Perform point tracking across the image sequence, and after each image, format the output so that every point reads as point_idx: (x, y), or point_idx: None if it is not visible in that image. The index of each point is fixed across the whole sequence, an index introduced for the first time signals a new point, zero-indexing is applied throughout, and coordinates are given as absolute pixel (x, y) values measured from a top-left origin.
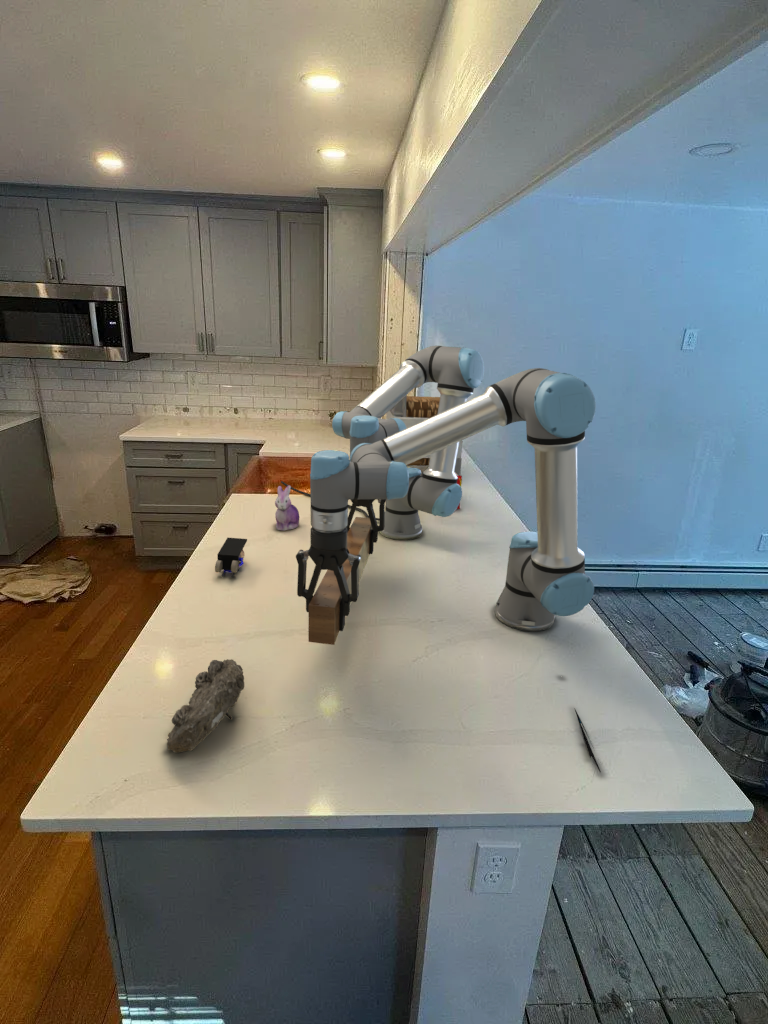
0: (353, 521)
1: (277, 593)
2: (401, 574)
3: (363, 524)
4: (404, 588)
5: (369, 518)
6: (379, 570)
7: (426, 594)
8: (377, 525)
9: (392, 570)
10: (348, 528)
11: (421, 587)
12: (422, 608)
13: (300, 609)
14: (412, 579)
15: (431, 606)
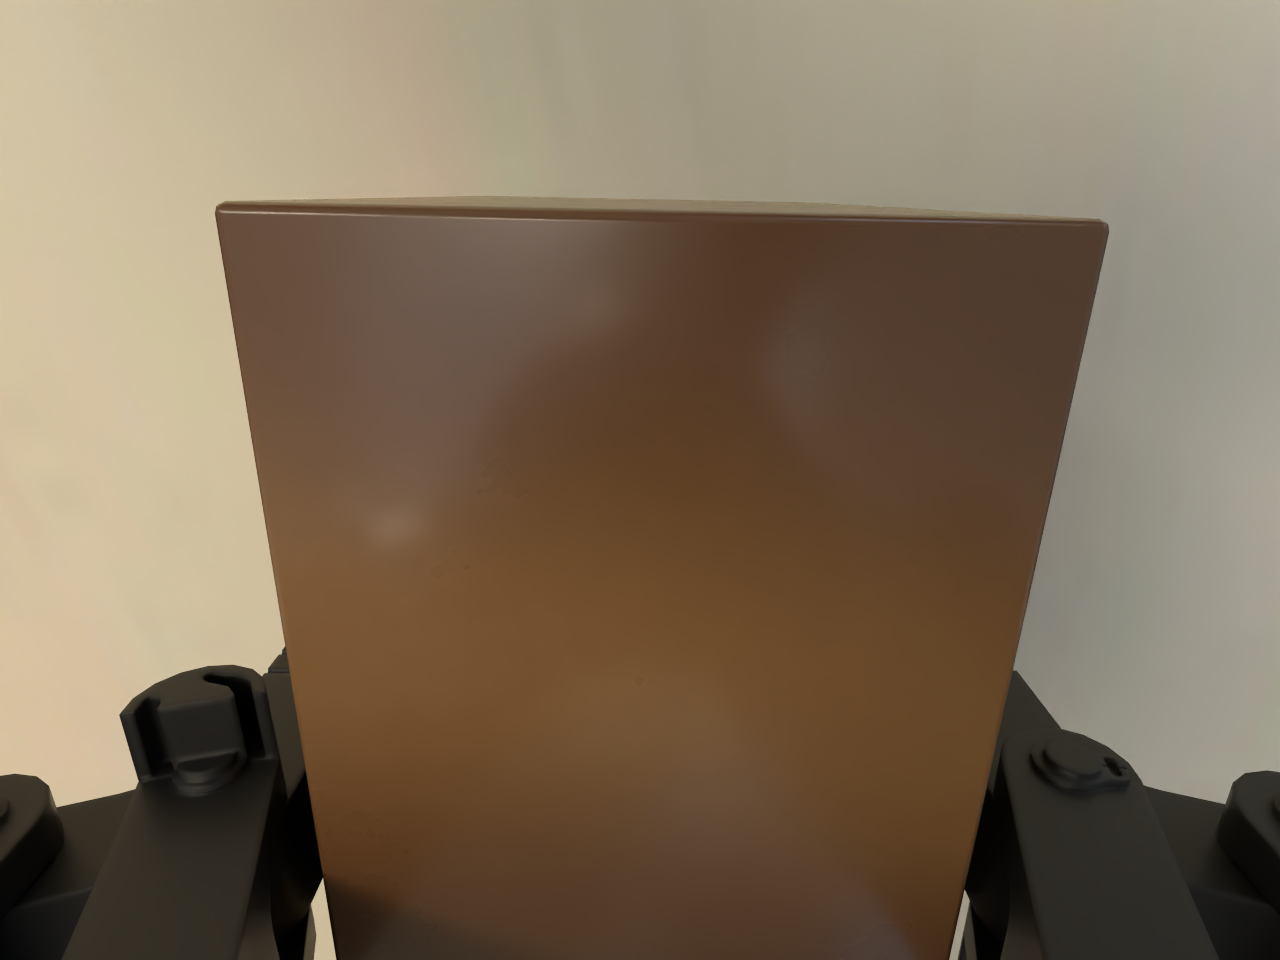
0: (302, 738)
1: (52, 763)
2: (1077, 208)
3: (699, 913)
4: (1071, 510)
5: (878, 280)
6: (828, 151)
7: (1255, 578)
8: (1158, 861)
9: (980, 118)
10: (309, 955)
11: (1239, 462)
12: (1171, 780)
13: (317, 915)
14: (1181, 308)
15: (1249, 745)
